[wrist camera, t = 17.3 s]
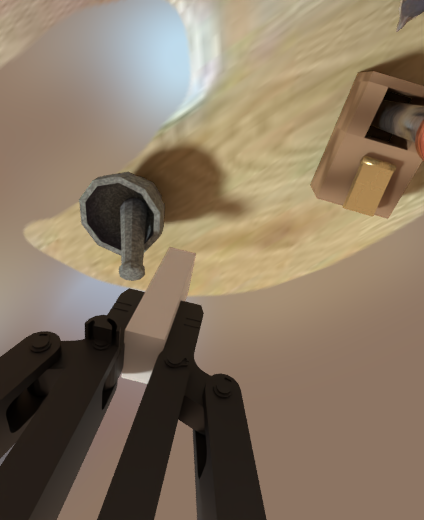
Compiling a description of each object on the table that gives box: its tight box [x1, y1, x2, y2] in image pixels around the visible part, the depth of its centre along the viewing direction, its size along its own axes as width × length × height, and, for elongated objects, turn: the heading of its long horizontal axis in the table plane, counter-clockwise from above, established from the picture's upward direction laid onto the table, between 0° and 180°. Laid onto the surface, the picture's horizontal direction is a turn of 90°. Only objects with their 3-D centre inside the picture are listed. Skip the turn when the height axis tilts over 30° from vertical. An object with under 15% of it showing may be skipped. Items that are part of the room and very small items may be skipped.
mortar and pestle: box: [79, 172, 165, 281], centre depth 37 cm, size 11×9×12 cm
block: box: [310, 71, 424, 218], centre depth 32 cm, size 12×8×5 cm, turn 166°
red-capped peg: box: [371, 100, 424, 161], centre depth 27 cm, size 4×4×15 cm
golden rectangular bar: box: [343, 156, 397, 216], centre depth 31 cm, size 5×3×1 cm, turn 166°
